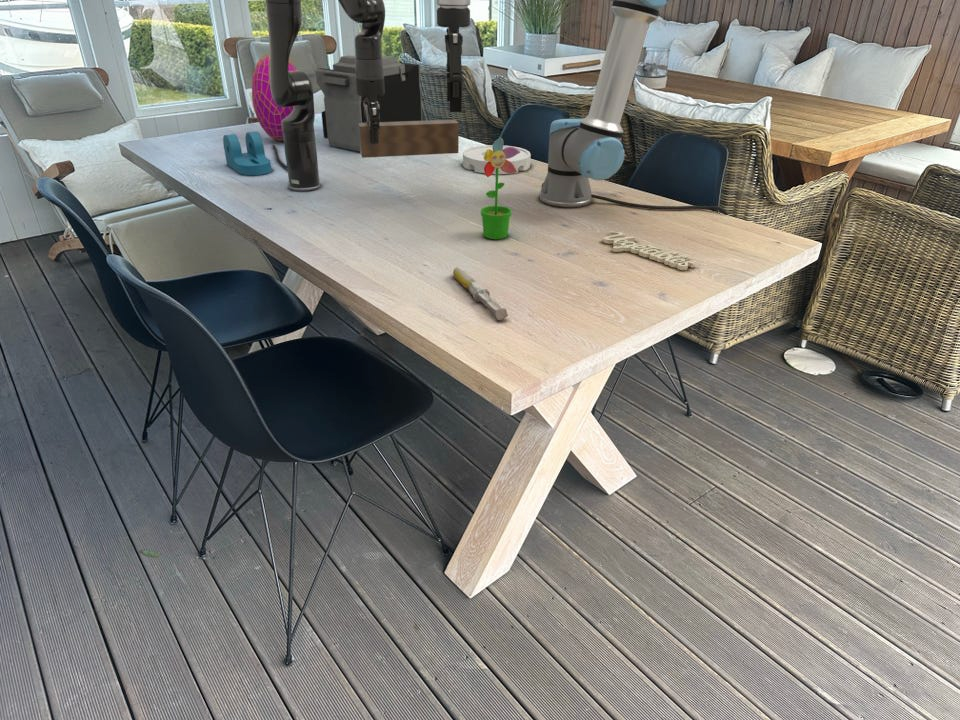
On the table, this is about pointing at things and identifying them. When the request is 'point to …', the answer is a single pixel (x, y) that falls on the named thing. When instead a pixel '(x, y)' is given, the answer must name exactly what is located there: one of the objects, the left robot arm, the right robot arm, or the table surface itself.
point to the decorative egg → (268, 100)
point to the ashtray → (476, 162)
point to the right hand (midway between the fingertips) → (454, 106)
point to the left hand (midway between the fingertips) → (373, 140)
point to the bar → (410, 138)
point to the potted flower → (497, 215)
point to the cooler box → (349, 106)
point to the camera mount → (246, 154)
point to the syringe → (479, 293)
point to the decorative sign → (647, 251)
